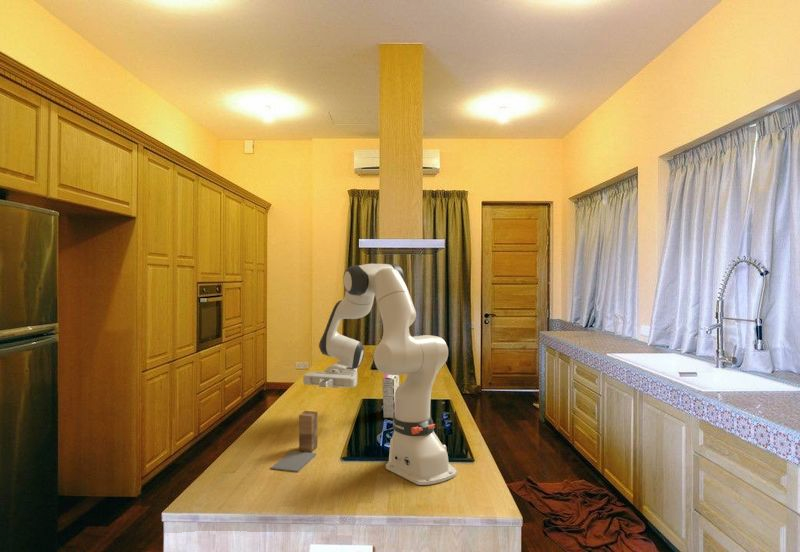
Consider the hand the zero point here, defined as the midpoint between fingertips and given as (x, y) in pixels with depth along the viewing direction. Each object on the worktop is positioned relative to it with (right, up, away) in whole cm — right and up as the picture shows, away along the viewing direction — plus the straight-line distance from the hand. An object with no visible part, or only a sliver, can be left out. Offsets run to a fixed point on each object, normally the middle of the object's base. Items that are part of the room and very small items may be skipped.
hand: (322, 384), depth 160 cm
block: (-3, -19, -12) cm, 22 cm away
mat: (-5, -19, -21) cm, 29 cm away
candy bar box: (+24, -18, +25) cm, 39 cm away
